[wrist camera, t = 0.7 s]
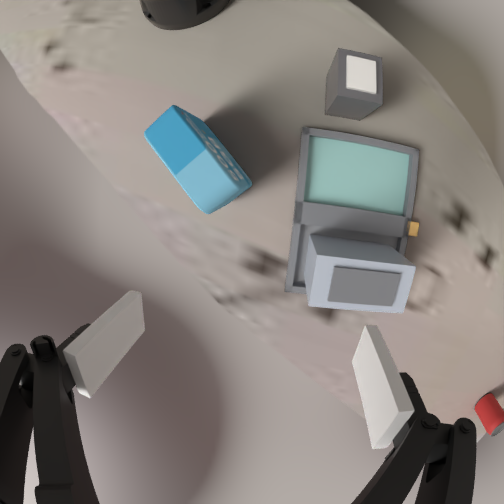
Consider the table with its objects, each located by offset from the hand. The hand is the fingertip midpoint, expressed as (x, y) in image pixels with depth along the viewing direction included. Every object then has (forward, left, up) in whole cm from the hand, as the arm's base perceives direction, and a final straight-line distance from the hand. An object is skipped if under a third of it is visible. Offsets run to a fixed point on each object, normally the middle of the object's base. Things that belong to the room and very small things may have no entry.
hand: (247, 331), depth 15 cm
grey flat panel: (-4, +11, -25) cm, 28 cm away
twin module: (+2, +11, -25) cm, 27 cm away
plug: (-21, +8, -25) cm, 33 cm away
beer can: (+37, +63, -25) cm, 78 cm away
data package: (-10, -9, -25) cm, 28 cm away
